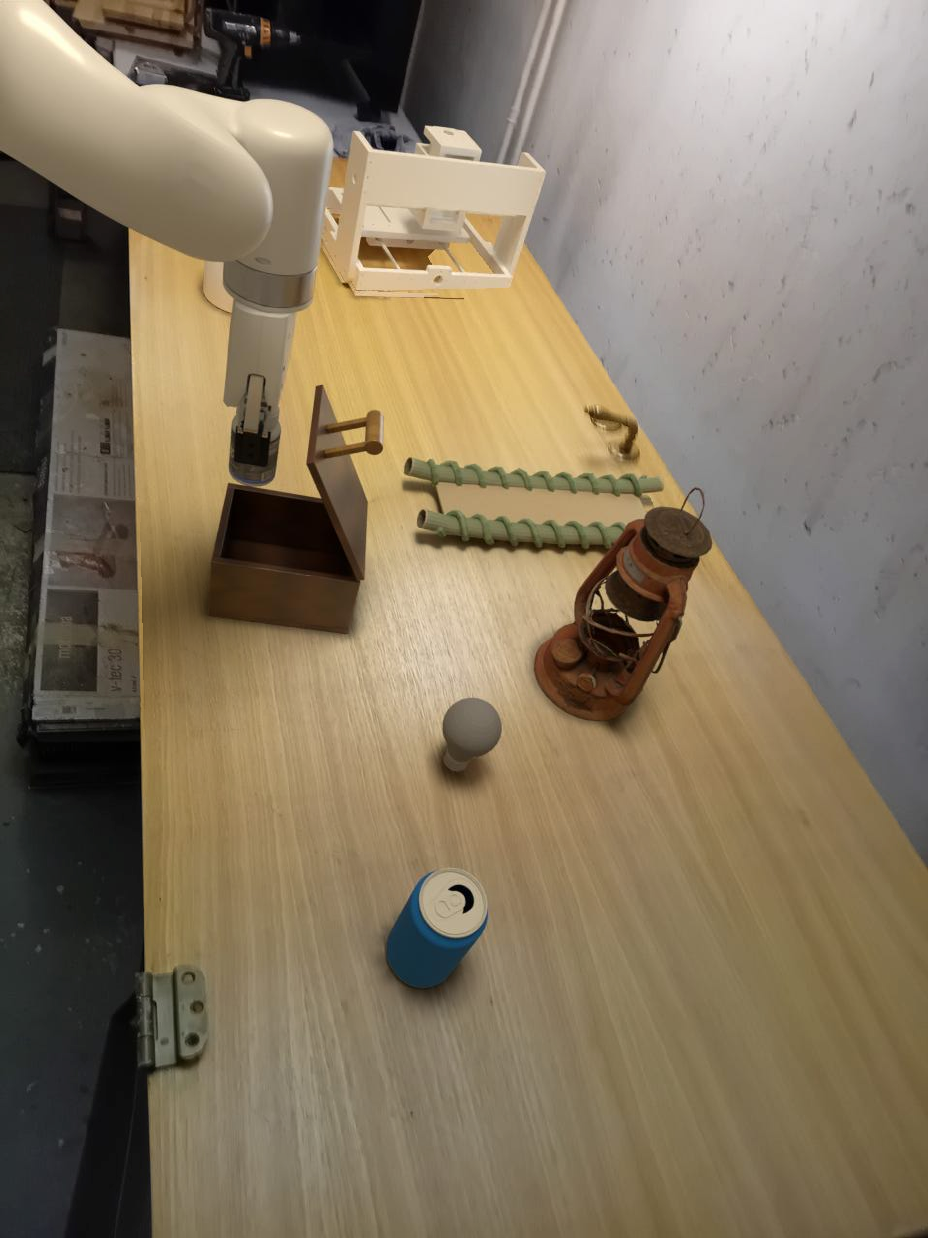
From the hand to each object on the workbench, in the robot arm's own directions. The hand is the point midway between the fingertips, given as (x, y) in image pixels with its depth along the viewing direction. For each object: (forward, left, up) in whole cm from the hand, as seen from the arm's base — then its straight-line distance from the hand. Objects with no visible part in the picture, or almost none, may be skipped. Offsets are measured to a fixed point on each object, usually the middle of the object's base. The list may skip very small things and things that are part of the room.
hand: (254, 443), depth 81 cm
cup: (-8, +62, -20) cm, 66 cm away
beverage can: (+21, -42, -20) cm, 51 cm away
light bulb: (+25, -22, -20) cm, 39 cm away
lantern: (+42, -8, -20) cm, 47 cm away
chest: (+5, 0, -20) cm, 21 cm away
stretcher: (+40, +20, -20) cm, 49 cm away
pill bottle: (0, 0, -4) cm, 4 cm away
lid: (+9, 0, -4) cm, 9 cm away
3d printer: (+20, +91, -20) cm, 95 cm away
